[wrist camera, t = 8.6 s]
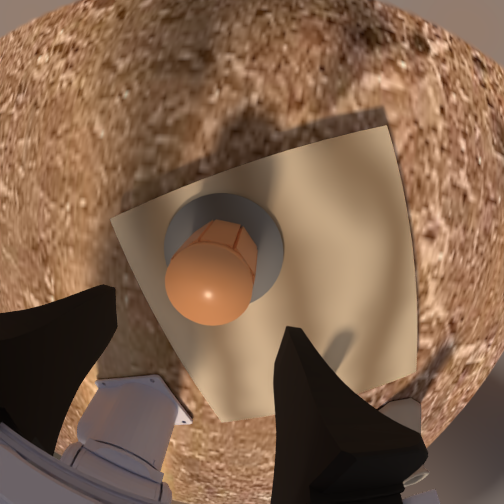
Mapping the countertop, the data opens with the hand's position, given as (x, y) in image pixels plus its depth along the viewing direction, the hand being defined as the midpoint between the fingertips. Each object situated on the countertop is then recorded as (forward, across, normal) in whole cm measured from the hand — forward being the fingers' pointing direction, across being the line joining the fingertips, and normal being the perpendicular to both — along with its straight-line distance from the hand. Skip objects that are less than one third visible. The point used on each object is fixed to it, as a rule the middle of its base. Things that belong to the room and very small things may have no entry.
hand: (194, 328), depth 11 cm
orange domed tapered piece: (+8, 0, 0) cm, 8 cm away
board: (+10, -6, +4) cm, 12 cm away
